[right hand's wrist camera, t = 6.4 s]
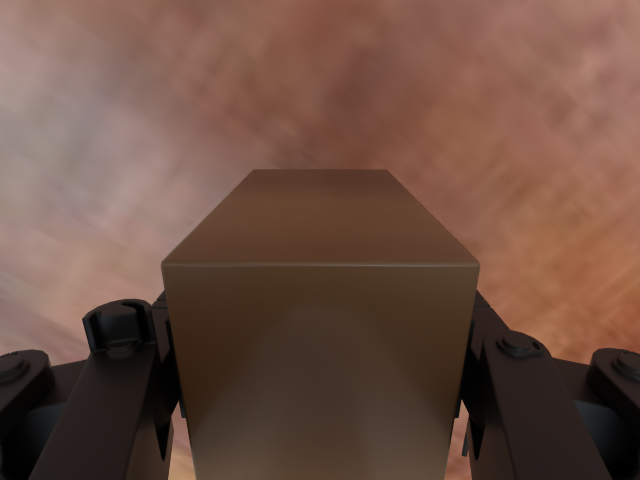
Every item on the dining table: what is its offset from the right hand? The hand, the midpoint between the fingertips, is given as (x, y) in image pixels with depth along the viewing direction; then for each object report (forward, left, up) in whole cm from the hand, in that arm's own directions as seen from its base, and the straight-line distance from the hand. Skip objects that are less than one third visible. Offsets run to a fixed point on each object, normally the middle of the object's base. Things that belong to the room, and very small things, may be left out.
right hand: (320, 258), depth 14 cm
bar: (+9, +5, -1) cm, 10 cm away
